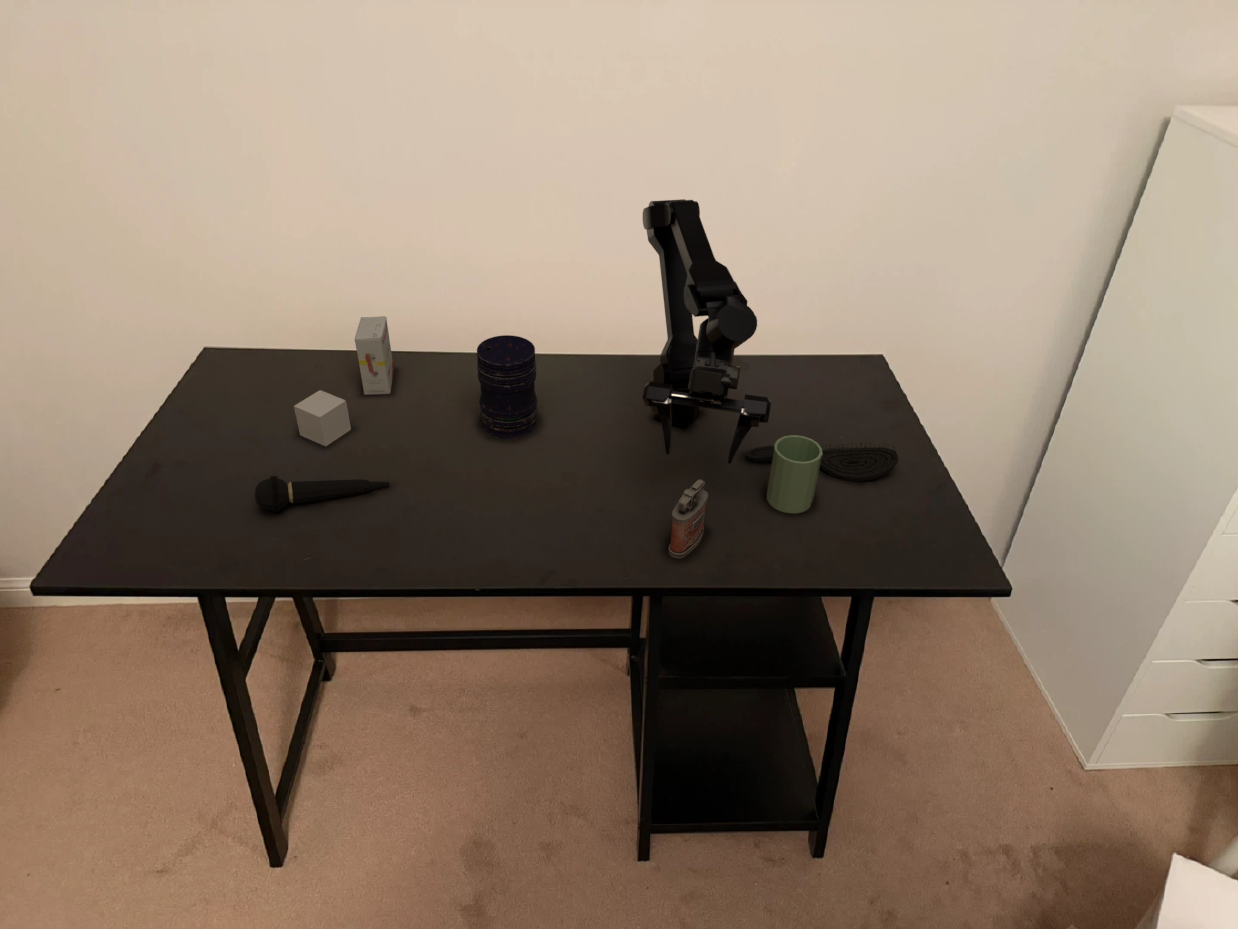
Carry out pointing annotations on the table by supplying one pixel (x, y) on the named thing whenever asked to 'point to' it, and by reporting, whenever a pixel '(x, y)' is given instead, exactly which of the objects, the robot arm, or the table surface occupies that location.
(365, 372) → the ink box
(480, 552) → the table surface
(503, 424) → the storage jar
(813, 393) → the table surface
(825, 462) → the hairbrush
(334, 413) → the light grey cube
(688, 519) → the lighter
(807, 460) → the pen cup
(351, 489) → the microphone
